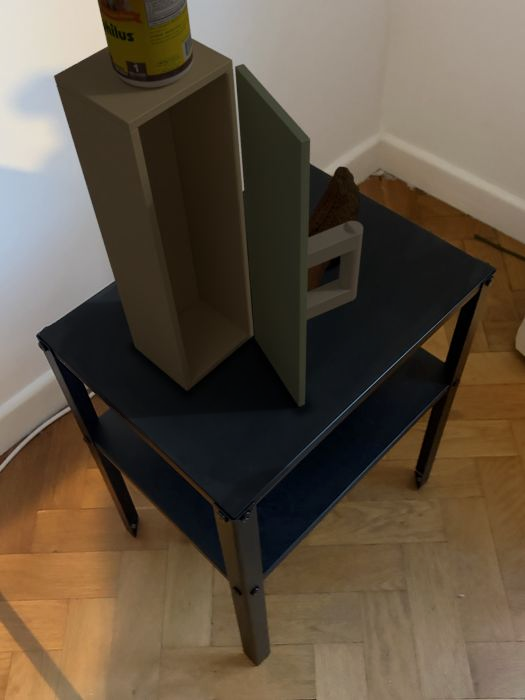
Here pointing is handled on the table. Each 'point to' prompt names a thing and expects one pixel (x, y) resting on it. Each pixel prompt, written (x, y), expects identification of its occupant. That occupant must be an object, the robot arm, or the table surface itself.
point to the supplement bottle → (148, 40)
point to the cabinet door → (286, 233)
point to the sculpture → (332, 215)
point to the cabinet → (168, 205)
